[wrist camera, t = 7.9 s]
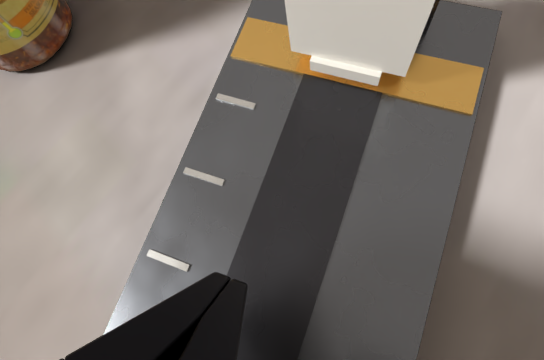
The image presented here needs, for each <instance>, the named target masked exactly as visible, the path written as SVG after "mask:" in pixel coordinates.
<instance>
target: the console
mask: <svg viewBox="0 0 544 360" xmlns="http://www.w3.org/2000/svg"><path fill="white" fill-rule="evenodd" d="M501 14H502V11H497V10H491V9H486V8H480V7H475V6H469V5H464V4H458V3H453V2H447V1H442V0H435V2H434V5H433V7H432V10H431V13H430V15H429V18H428V20H427V23H426V25H425V28H424V30H423V33H422V35H421V38H420V40H419V43H418V46H417V48H416V51H415V53H414V56H413V58H412V61H411V63H410V66H409V68H408V71H407V74H406V76H405V77H402V76H398V75H393V74H389V73H385V72H382V74H381V77H380V80H379V84H378V86H374V85H370V84H366V83H362V82H358V81H354V80H349V79H345V78H341V77H337V76H333V75H329V74H324V73H320V72H316V71H312V70H310V59H311V55H307V54H302V53H298V52H294V51H291V46H290V39H289V31H288V23H287V16H286V8H285V0H252V2H251V4H250V7H249V9H248V11H247V13H246V16H245V18H244V20H243V22H242V25H241V27H240V29H239V31H238V34H237V36H236V38H235V40H234V43H233V45H232V47H231V49H230V52H229V54H228V56H227V58H226V61H225V63H224V65H223V67H222V70H221V72H220V74H219V76H218V78H217V81H216V83H215V85H214V87H213V90H212V92H211V94H210V96H209V99H208V101H207V103H206V105H205V108H204V110H203V112H202V114H201V117H200V119H199V121H198V123H197V126H196V128H195V130H194V132H193V135H192V137H191V139H190V141H189V144H188V146H187V148H186V150H185V153H184V155H183V157H182V159H181V162H180V164H179V166H178V168H177V171H176V173H175V175H174V177H173V180H172V182H171V184H170V186H169V188H168V191H167V193H166V195H165V197H164V200H163V202H162V204H161V206H160V209H159V211H158V213H157V215H156V218H155V220H154V222H153V224H152V227H151V229H150V231H149V233H148V236H147V238H146V240H145V242H144V245H143V247H142V249H141V251H140V254H139V256H138V258H137V260H136V263H135V265H134V267H133V269H132V272H131V274H130V276H129V278H128V281H127V283H126V285H125V287H124V290H123V292H122V294H121V296H120V298H119V301H118V303H117V305H116V307H115V310H114V312H113V314H112V316H111V319H110V321H109V323H108V325H107V328H106V330H105V332H104V334H106V333H107V332H109V331H111V330H113V329H115V328H116V327H118V326H120V325H122V324H123V323H125V322H127V321H129V320H130V319H132V318H134V317H136V316H137V315H139V314H141V313H143V312H144V311H146V310H148V309H150V308H151V307H153V306H155V305H157V304H158V303H160V302H162V301H164V300H166V299H167V298H169V297H171V296H173V295H174V294H176V293H178V292H180V291H181V290H183V289H185V288H187V287H188V286H190V285H192V284H194V283H195V282H197V281H199V280H201V279H202V278H204V277H206V276H208V275H210V274H211V273H213V272H219V273H221V274H224V275H226V276H229V277H230V278H231V279H237V280H239V281H242V282H244V283H246V284H247V285H248V289H247V295H246V302H245V309H244V316H243V322H242V329H241V336H240V342H239V349H238V356H237V360H416V359H417V355H418V351H419V347H420V342H421V338H422V334H423V330H424V326H425V322H426V318H427V314H428V310H429V306H430V302H431V298H432V294H433V290H434V286H435V282H436V278H437V274H438V270H439V265H440V261H441V257H442V253H443V249H444V245H445V241H446V237H447V233H448V229H449V225H450V221H451V217H452V213H453V209H454V205H455V201H456V197H457V193H458V188H459V184H460V180H461V176H462V172H463V168H464V164H465V160H466V156H467V152H468V148H469V144H470V140H471V136H472V132H473V128H474V124H475V120H476V115H477V111H478V107H479V103H480V99H481V95H482V91H483V87H484V83H485V79H486V75H487V71H488V67H489V63H490V59H491V55H492V51H493V47H494V43H495V38H496V34H497V30H498V26H499V22H500V18H501ZM104 334H103V335H104Z"/></svg>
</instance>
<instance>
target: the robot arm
mask: <svg viewBox="0 0 544 360" xmlns="http://www.w3.org/2000/svg"><path fill="white" fill-rule="evenodd" d="M247 289H248V285H247V284H246V283H244V282H242V281H239V280H237V279H231V278H230V277H229V276H226V275H224V274H221V273H219V272H213V273H211V274H210V275H208V276H206V277H204V278H202V279H201V280H199V281H197V282H195V283H194V284H192V285H190V286H188V287H187V288H185V289H183V290H181V291H180V292H178V293H176V294H174V295H173V296H171V297H169V298H167V299H166V300H164V301H162V302H160V303H158V304H157V305H155V306H153V307H151V308H150V309H148V310H146V311H144V312H143V313H141V314H139V315H137V316H136V317H134V318H132V319H130V320H129V321H127V322H125V323H123V324H122V325H120V326H118V327H116V328H115V329H113V330H111V331H109V332H107V333H106V334H104V335H102V336H100V337H99V338H97V339H95V340H93V341H92V342H90V343H88V344H86V345H85V346H83V347H81V348H79V349H78V350H76V351H74V352H72V353H71V354H69V355H67V356H66V357H65V360H237V356H238V349H239V342H240V336H241V329H242V322H243V316H244V309H245V302H246V295H247ZM60 360H64V359H60Z"/></svg>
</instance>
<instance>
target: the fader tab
mask: <svg viewBox="0 0 544 360" xmlns="http://www.w3.org/2000/svg"><path fill="white" fill-rule="evenodd" d="M434 2H435V0H285V8H286V16H287V23H288V31H289V39H290V46H291V51H294V52H298V53H302V54H307V55H311V59H310V70H312V71H316V72H320V73H324V74H329V75H333V76H337V77H341V78H345V79H349V80H354V81H358V82H362V83H366V84H370V85H374V86H378V84H379V80H380V77H381V74H382V72H385V73H389V74H393V75H398V76H402V77H405V76H406V74H407V71H408V68H409V66H410V63H411V61H412V58H413V56H414V53H415V51H416V48H417V46H418V43H419V40H420V38H421V35H422V33H423V30H424V28H425V25H426V23H427V20H428V18H429V15H430V13H431V10H432V7H433V5H434Z"/></svg>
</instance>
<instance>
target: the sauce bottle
mask: <svg viewBox="0 0 544 360" xmlns="http://www.w3.org/2000/svg"><path fill="white" fill-rule="evenodd" d="M71 22H72V14H71V11H70V8H69V6H68V5H67V3H66V0H0V69H1V70H6V71H9V72H12V71H22V70H26V69H30V68H33V67H36V66H39V65H41V64H43V63H45V62H46V61H47V60H49V58H50V57H53V55H54V54H55V53H56V52H57V51H58V50H59V49H60V47H61V46H62V44H63V43H64V41H65V40H66V38H67V37H68V34H69V31H70V29H71V27H72V25H71Z"/></svg>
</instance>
